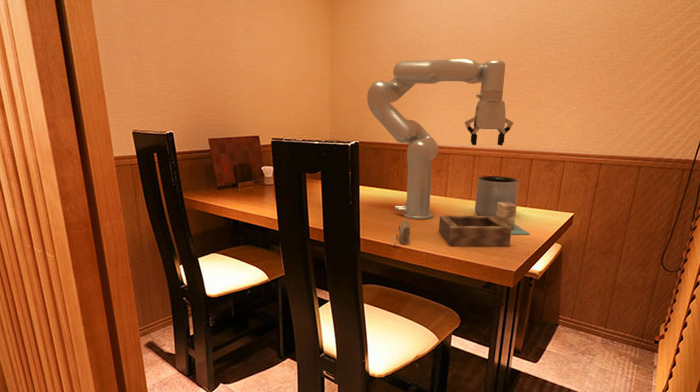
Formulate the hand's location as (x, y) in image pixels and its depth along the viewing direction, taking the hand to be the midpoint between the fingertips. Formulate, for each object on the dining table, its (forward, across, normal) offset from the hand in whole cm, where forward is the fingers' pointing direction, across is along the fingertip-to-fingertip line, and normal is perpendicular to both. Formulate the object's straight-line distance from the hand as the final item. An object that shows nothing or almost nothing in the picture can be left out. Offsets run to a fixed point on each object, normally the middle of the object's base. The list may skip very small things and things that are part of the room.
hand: (486, 145), depth 136 cm
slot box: (+30, -9, -18) cm, 36 cm away
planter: (+31, +11, +14) cm, 35 cm away
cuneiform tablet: (+31, -33, -21) cm, 50 cm away
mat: (+30, +7, -6) cm, 32 cm away
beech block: (+30, +7, -6) cm, 31 cm away
